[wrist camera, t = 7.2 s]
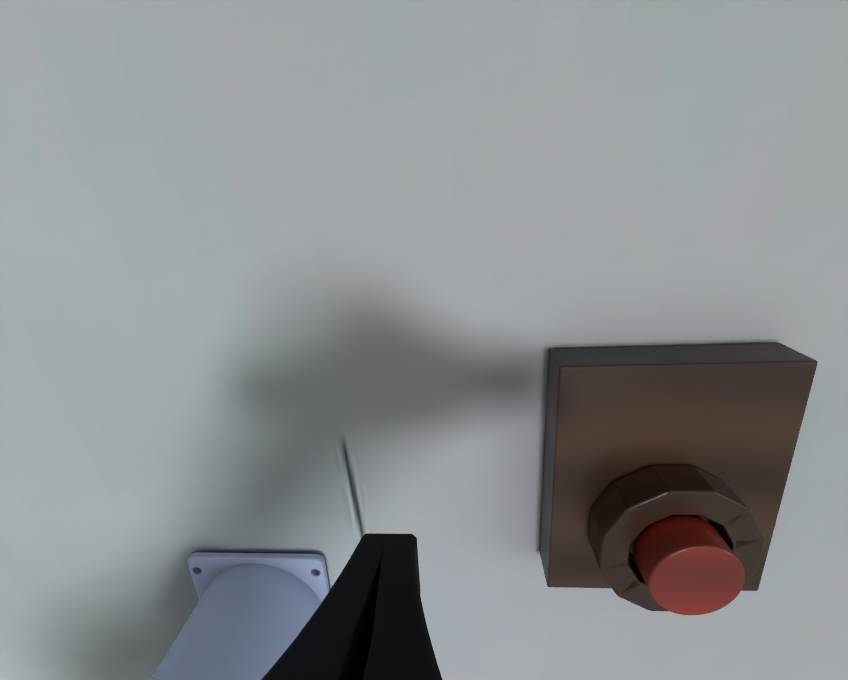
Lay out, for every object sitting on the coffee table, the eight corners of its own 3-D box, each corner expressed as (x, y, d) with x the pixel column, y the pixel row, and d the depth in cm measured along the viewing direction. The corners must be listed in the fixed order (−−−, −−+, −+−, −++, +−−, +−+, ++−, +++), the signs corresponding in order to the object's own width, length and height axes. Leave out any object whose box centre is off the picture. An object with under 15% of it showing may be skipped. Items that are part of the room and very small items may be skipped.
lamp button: (712, 580, 19) (736, 617, 18) (628, 579, 20) (644, 615, 18) (727, 514, 18) (754, 547, 17) (637, 514, 19) (654, 545, 17)
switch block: (731, 555, 23) (784, 627, 20) (539, 553, 24) (555, 621, 20) (780, 342, 19) (859, 380, 16) (548, 347, 20) (570, 385, 16)
